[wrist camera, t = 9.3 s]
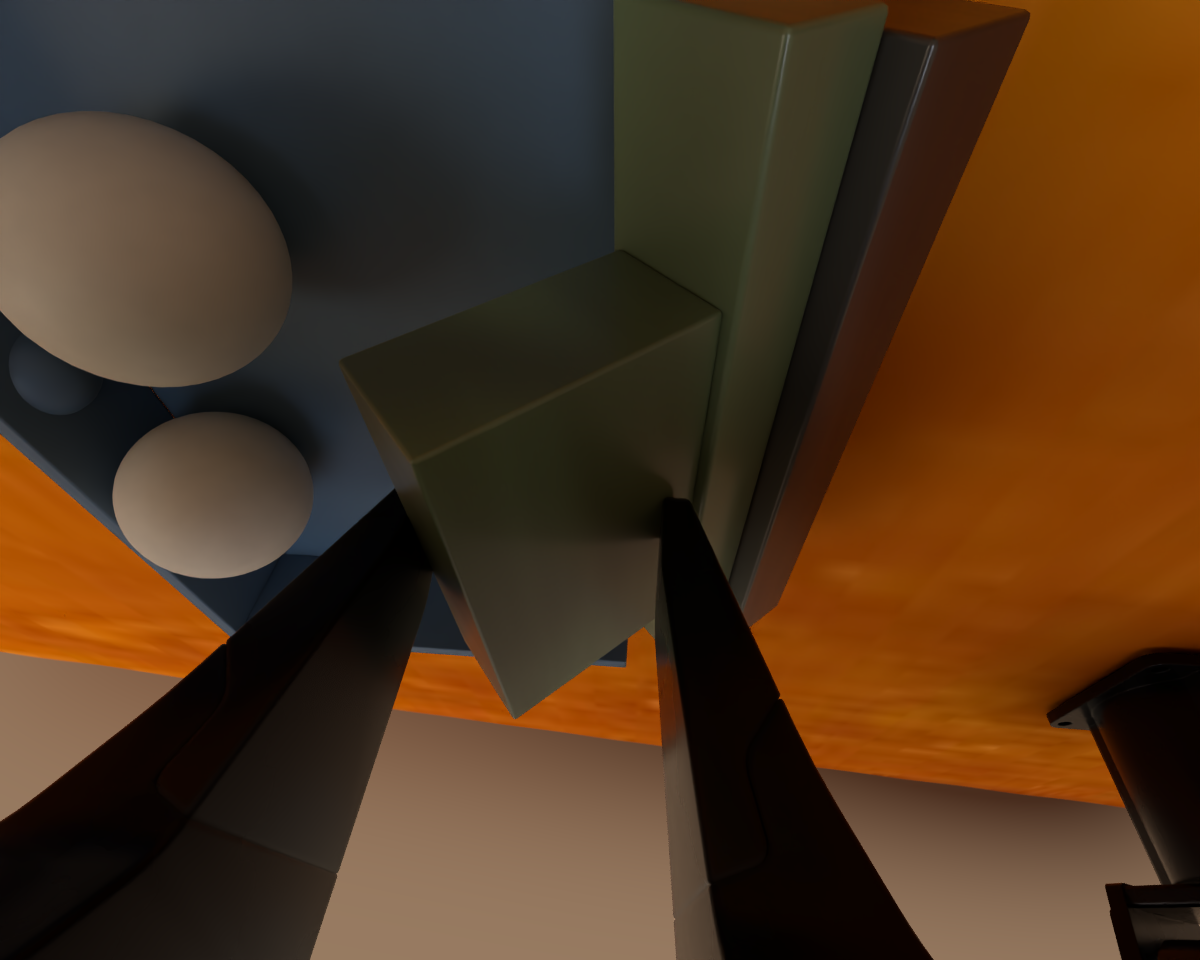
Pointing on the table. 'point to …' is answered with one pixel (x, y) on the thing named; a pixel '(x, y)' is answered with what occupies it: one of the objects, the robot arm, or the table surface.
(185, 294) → the crumb
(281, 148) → the dustpan
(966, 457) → the table surface
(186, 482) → the crumb
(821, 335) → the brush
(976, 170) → the table surface
